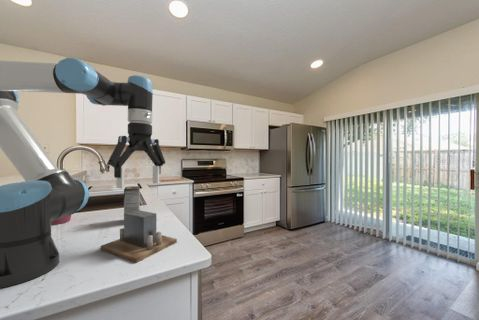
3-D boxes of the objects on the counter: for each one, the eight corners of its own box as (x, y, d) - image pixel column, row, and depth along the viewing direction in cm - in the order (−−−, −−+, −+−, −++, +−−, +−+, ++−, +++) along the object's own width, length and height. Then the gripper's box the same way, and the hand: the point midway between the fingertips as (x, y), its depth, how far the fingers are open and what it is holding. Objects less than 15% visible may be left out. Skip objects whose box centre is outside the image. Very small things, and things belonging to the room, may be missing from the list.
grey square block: (143, 248, 65) (143, 217, 65) (124, 242, 70) (124, 213, 70) (156, 242, 70) (156, 213, 70) (137, 237, 74) (137, 209, 74)
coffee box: (125, 219, 99) (125, 186, 99) (139, 217, 102) (139, 185, 102) (123, 225, 91) (123, 189, 91) (139, 223, 93) (139, 188, 93)
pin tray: (136, 262, 59) (136, 244, 59) (100, 249, 67) (100, 233, 67) (176, 242, 73) (176, 227, 73) (142, 233, 81) (142, 220, 81)
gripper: (109, 115, 56) (109, 191, 57) (175, 128, 79) (174, 182, 79) (94, 117, 60) (93, 189, 60) (161, 129, 82) (160, 181, 82)
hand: (139, 185), depth 69 cm, fingers open, 13 cm apart
